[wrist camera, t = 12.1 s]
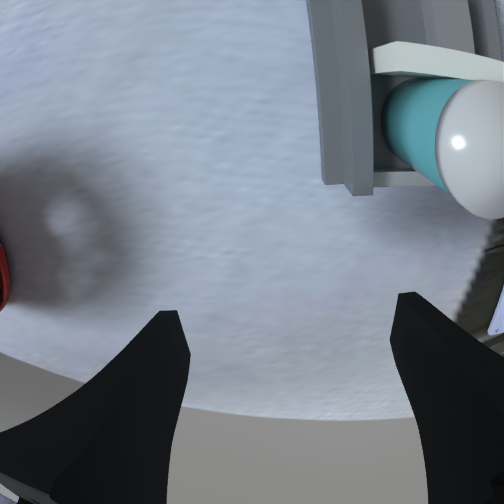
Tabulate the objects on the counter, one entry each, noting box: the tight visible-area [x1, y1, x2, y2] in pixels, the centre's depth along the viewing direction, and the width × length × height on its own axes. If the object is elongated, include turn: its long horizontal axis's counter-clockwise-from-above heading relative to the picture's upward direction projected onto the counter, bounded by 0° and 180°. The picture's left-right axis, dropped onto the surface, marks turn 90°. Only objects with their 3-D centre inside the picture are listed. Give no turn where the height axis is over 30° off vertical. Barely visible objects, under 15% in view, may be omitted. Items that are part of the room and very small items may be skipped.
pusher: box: [368, 0, 504, 82], centre depth 10 cm, size 6×5×4 cm
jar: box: [381, 78, 504, 219], centre depth 11 cm, size 5×5×7 cm
